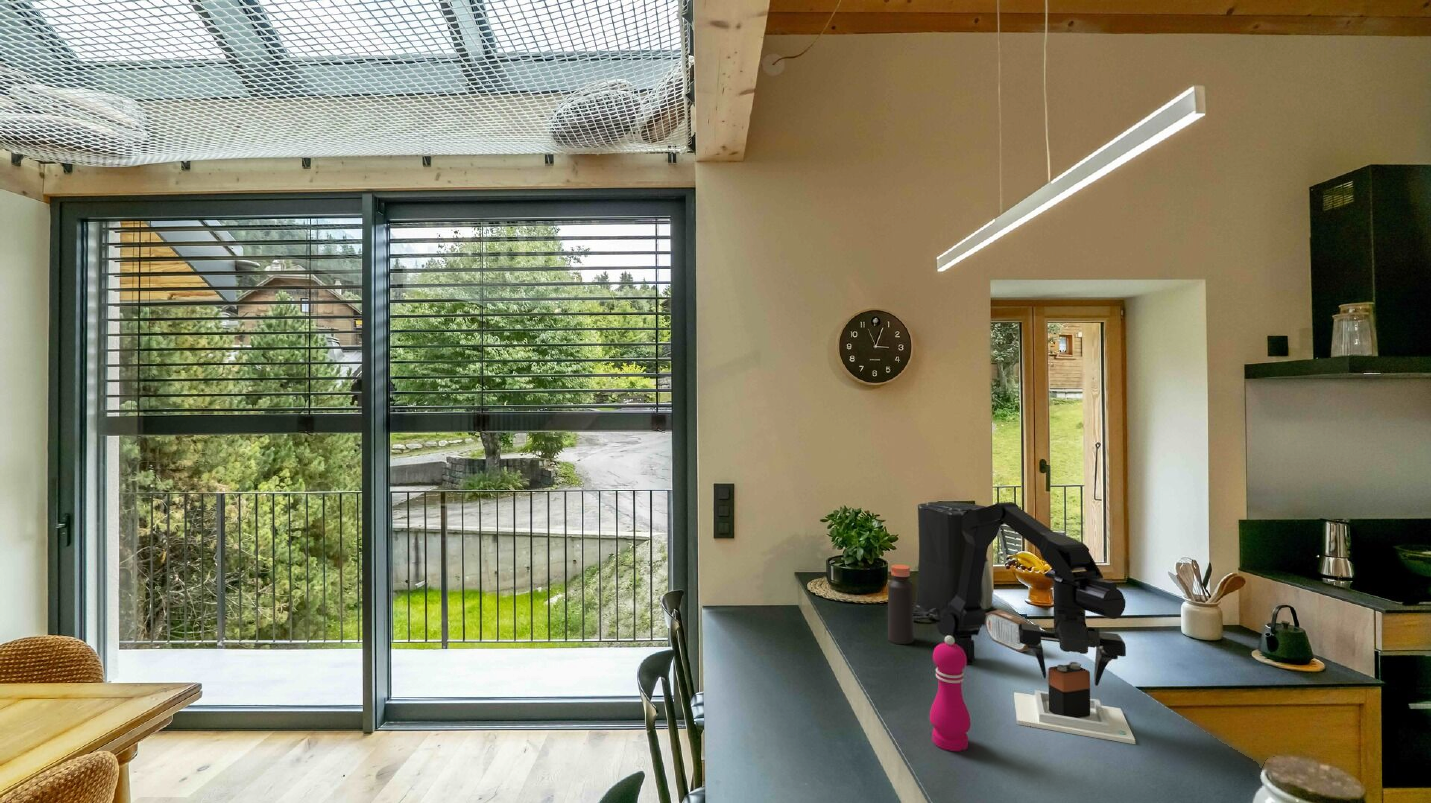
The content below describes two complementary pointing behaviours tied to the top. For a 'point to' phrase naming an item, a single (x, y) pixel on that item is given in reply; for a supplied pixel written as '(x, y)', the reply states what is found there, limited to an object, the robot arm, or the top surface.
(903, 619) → the bottle
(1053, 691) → the battery
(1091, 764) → the top surface
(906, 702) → the top surface
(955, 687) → the pepper mill
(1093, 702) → the charging cradle
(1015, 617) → the tin
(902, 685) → the top surface
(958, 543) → the coffee maker
